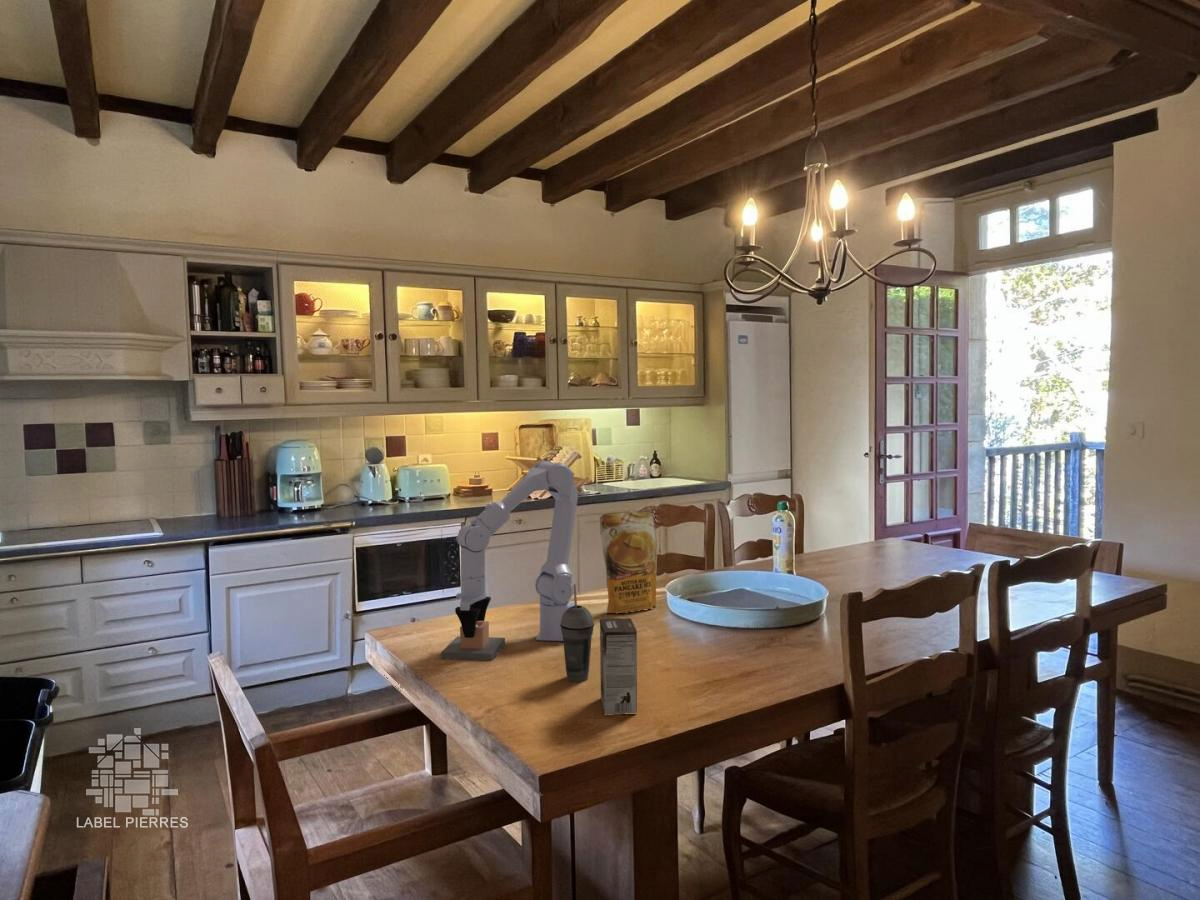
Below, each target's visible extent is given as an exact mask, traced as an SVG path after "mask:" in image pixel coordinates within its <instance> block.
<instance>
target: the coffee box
mask: <svg viewBox="0 0 1200 900" xmlns="http://www.w3.org/2000/svg"><path fill="white" fill-rule="evenodd" d="M599 635H600V636H599V640H600V641H599V642H600V643H599V644H600V645H599V646H600V647H599V653H600V657H599V659H600V662H599V663H600V669H599V670H600V700H601V703H602V704H601V705H602V709H604V710H603V713H604V715H605V714H625V713H636V712H637V710H638V705H637V704H638V700H637V698H638V696H637V695H638V693H637V692H638V678H637V677H638V631H637V629H636V627H635V624H634V622H633V620H632V618H631V617H628V618H620V617H619V618H618V617H607V618H606V617H605V618H599Z"/></svg>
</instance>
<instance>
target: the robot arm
mask: <svg viewBox="0 0 1200 900" xmlns="http://www.w3.org/2000/svg"><path fill="white" fill-rule="evenodd" d="M574 477H575V473H574V472H573V470H572V469H571V468H570V467H569V466H568V465H567V464H566V463H563V462H552V461H548V460H541V461H539V462H537V463H536V464H535V465H534V467H532V468H530V469H529V470H528V471H527V472H526V475H525V476H524V477H523V478H522V479H521V480H519V482H518V483H517V484H516V485H515V486H514V487H513V488H512V489H511V490H510V491H509V492H508V493H507V495H505V496H504V497H503V499H501V500H500V501H492V502H491V503H487V504H486V505H485V506H484V510H483V511H482V512H481V513H480V514H479V515H478V516H476V517H475V518H472V519H470V521H469V522H470V523H468V524H465V525H463V526H462V527H460V529H459V530H458V533H457V536H455V540H456V542H457V544H458V545H459V546H460V592H458V593H456V594H455V596H456V598H458V599H460V602H459V603H460V604H459V606H456V607H455V609H454V612H455V615H456V616H457V618H458V620H459V622H460V627H461V626H462V629H463V634H464V637H465V638H474V635H475V629H476V621H486V619H485V618H486V614H487V610H488V607H489V604H490V602H491V601H492V598H491V596H487V592H486V550H485V549H486V548H487V547H488V545H489V542H490V539H491V537H492V536H494V535H495V534H496V533H497V531H499V530H500V529H501V528H502V527H503V526H504V525H506V523H508V521H509V520H510V517H511V516H510V515H511V512H512V511H513V510H514V509H515V508H516V507H518V506H519V505H520V504H521V503H523V502H524V501H525V500H526V499H527V498H528V497H530V496H531V494H533V493H534V492H538V491H548V492H549V494H550V495H551V496H552V497H553V499H554V502H555V503H554V509H553V515H552V516H553V517H552V521H551V522H552V523H551V529H550V536H549V543H548V549H547V556H546V561H545V563H543V565H542V566H541V568H540V572H539V575H538V576H537V578H536V579H535V584H534V588H535V591H536V593H537V594H538V595H539V632H538V634H537V636H536V637H535V640H536V641H550V642H552V641H553V642H563V635H562V631H561V627H560V624H561V619H562V616H563V614H564V612H565V611H566V610H567V609H568V608H570V607H572V606H575V604H574V601H570V599H571V598H572V596H573V595H574V584H573V582H572V581H573V580H572V577H573V574H572V571H571V569H570V567H569V559H570V552H571V546H572V538H573V533H574V532H573V531H574V524H575V519H576V512H577V511H576V510H577V505H578V497H579V494H578V490H577V487H576V483H575V480H574V479H575V478H574Z"/></svg>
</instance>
